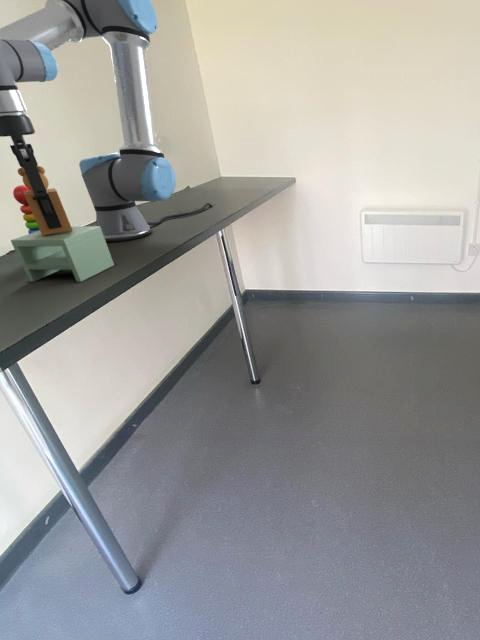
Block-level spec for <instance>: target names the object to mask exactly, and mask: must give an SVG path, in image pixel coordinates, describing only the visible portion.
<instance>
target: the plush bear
mask: <svg viewBox="0 0 480 640" xmlns="http://www.w3.org/2000/svg"><path fill="white" fill-rule="evenodd" d="M37 169H38V172H39V174H40V176H41V179H42V181H43V184H44V186H45V188H46V191H47V192H48V194H49V198H50V199H51V202H52V204H53V206H54V209H55V211H56V214H57V216H58V218H59V221H60V223H61V226H62V227H60V228H54V229H49V228H48V226H47V223H46V221H45V219H44V216H43V214H42V212H41V209H40V207H39V205H38V202H37V200H33V198H32V197H35V195H34V191H33V189H32V186H31V184H30V182H29V179H28V177H27V175H26V172H25V170H24V168H22V167H19V168H17V174H18V175H19V176H21V177H22V183H23V185H25V186H26V187H27V188H28V189H29V190H31V191H29V192H24V195H25V198H26V200H27V202H28V204H29V207H30V209H31V211H32V213H33V216H34V218H35V220H36V223H37V225H38V227H39V229H40V232H41V234H42V235H48V234H54V233H60V232H66V231H72V228H71V227H72V225H71V223H70V221H69V218H68V215H67V213H66V210H65V208H64V206H63V203H62V201H61V198H60V196H59V193H58V191H57V189H56V188H55V187H53V188H49V180H48V177H47V176H46V175H45V173H46V170H45V168H44V166H41V165H38V166H37Z"/></svg>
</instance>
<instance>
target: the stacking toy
mask: <svg viewBox="0 0 480 640" xmlns="http://www.w3.org/2000/svg"><path fill="white" fill-rule="evenodd" d="M29 191H31V190H29V189H28V188H27V187H26V186H25V185H24V184H21V185H20V184H19V185H17V186H16V187H14V188H13V192H12V194H13V195H12V196H13V198H14V199H15V201H16V202H17V203H18V204H20V207H19V210H20V212H21V213H22V214H23V215H22V219H23V220H24V221H25V224H24V225H25V227H26V229H28V231H27V233H28V234H31V233H34V232H37V231H40V229H39V227H38V225H37V223H36V220H35V218H34V216H33V213H32V211H31V209H30V207H29V204H28V202H27V200H26V198H25V195H24V192H29Z"/></svg>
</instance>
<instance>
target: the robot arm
mask: <svg viewBox="0 0 480 640" xmlns="http://www.w3.org/2000/svg"><path fill="white" fill-rule="evenodd" d="M157 28H158V18H157V13H156V11H155V7H154V5H153V2H152V1H151V0H46V1H45V5H44V7H43V8H41V9H38V10H37V11H34V12H32V13H30V14H28V15H25V16H24V17H22V18H19V19H18V20H16V21H13V22H11V23H9V24H7V25H5V26H2V27H1V28H0V138H1V137H10V139H11V141H12V144H10V145H9V147H10V149H11V152H12V154H13V155H14V156H15V158H16V160H17V163H18V165H19V168H24V170H25V172H26V175H27V177H28V179H29V182H30V184H31V186H32V189H33V191H34V195H35V197H32V198H33V200H37V202H38V205H39V207H40V209H41V212H42V214H43V216H44V219H45V221H46V223H47V226H48V228H49V229H54V228H60V227H62V226H61V223H60V221H59V218H58V216H57V214H56V211H55V209H54V206H53V204H52V202H51V199H50V198H49V194H48V192H47V191H46V188H45V186H44V184H43V181H42V179H41V176H40V174H39V172H38V169H37V166H39V164H38V161H37V159H36V156H35V151H34V148H33V146H32V143H26V140H25V137H24V136H29V135H34V134H35V133H36V130H35V127H34V125H33V123H32V120H31V117H30V116H28V114H26V113H25V112H28V111H27V110H28V109H27V107H26V104H25V102H24V100H23V97H22V95H21V94H22V93H21V92H20V90H19V87H18V85H17V83H32V82H34V83H35V82H39V83H45V82H51V81H53V80H55V79H56V78H57V77H58V73H59V66H58V63H57V60H56V57H55V55H54V54H53V52H52V51H54V50H55V49H58V48H60V47H61V46H63V45H65V44H67V43H69V42H70V43H79V42H81V41H83V40H85V39H95V38H102V39H103V41H105V43H106V44H108V46H109V48H110V55H111V62H112V69H113V75H114V83H115V89H116V96H117V104H118V111H119V115H120V116H119V117H120V123H121V131H122V138H123V144H122V146H121V147H120V148H119V149H118V150H119V153H118V152H115V153H109V154H103V155H98V156H93V157H88V158H84V159H81V160H79V163H78V164H79V169H80V173H81V178H82V180H83V182H84V185H85V188H86V190H87V194H88V196H89V198H90V200H91V203H92V205H93V209H94V212H95V218H96V219H95V220H96V226H100V228H101V230H102V233H103V236H104V238H105V241H106V242H123V241H124V242H125V241H130V240H135V239H139V238H142V237H146V236H148V235H150V234H151V232H152V230H151V228H150V226H155V225H159V224H160V223H162V222H163V221H164V220H167V219H173V218H180V217H186V216H190V215H194V214H196V213H199V212H201V211H203V210H205V209H206V208H207V207H213V205H212V204H211V203H210V202H205V203H204V205H203V206H201V207H199V208H196V209H194V210H191V211H187V212H182V213H175V214H170V215H169V214H168V215H165V216H163V217H160V218H158V220H156V221H146V219H145V218H144V216H143V214H142V213H141V212H140V210H139V209H138V207H137V204H136V202H151V203H155V202H160V201H161V202H163V201H166V200H168V199H170V198H171V196H172V195H173V194H174V192H175V189H176V183H177V181H176V180H177V178H176V173H175V169H174V168H173V166H172V163H171V162H170V161H169V160H168V159H166V158H165V154H164V151H162V150H161V149H160V148H159V147H158V141H157V134H156V133H157V132H156V125H155V119H154V110H153V103H152V101H153V100H152V95H151V85H150V78H149V69H148V62H147V54H146V52H147V51H148V50H149V49H150V48H151V39H150V35H153V34H154V33H155V32H156V31H157ZM220 239H221V242H222V247H223V251H224V254H225V259H226V263H227V268H228V272H229V276H230V281H231V286H232V289H233V293H234V296H235V297H237V296H238V294H237V289H236V286H235V285H236V284H235V280H234V276H233V272H232V268H231V263H230V259H229V255H228V250H227V246H226V241H225V238H224V235H221V236H220Z"/></svg>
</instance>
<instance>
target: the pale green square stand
mask: <svg viewBox="0 0 480 640" xmlns="http://www.w3.org/2000/svg"><path fill="white" fill-rule="evenodd" d="M71 228H72V231H66V232H60V233H54V234H48V235H42V234H41V232H40V231H37V232H34V233H31V234H29V233H28V234H25V235H22V236H19V237H16V238H14V239H10V242H11V244H12V246H13V250H14V251H15V253H16V255H17V257H18V260H19V262H20V265H21V266H22V268H23V270H24V272H25V274H26V276H27V278H28V280H29V282H36V281H38V280H41V279H43V278H45V277H47V276H50V275H52V274H54V273H57V272H59V271H61V270H62V271H63V270H64V271H66V270H67V271H68V270H70V271H72V274H73V276H74V279H75V282H77V283H82V282H84V281H86V280H88V279H89V278H91V277H93V276H96V275H97V274H100V273H101V272H104V271H106V270H108V269H109V268H112V267H114V266H115V263H114V261H113V257H112V255H111V253H110V249H109V247H108V244H107V241H105V238H104V236H103V233H102V230H101V228H100V226H97V225H91V226H89V225H87V226H85V225H83V226H82V225H81V226H79V225H78V226H76V225H75V226H71Z"/></svg>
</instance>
